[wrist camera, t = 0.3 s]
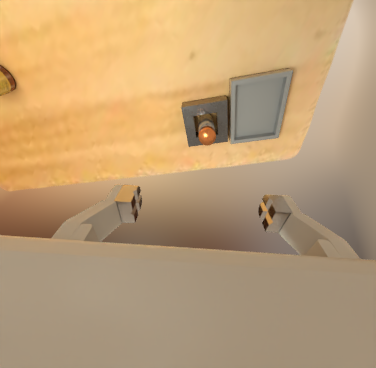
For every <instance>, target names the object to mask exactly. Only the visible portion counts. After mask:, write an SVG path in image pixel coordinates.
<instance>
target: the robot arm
mask: <svg viewBox="0 0 376 368" xmlns="http://www.w3.org/2000/svg"><path fill="white" fill-rule="evenodd" d="M140 191H141V190H140V187H139V186H132V185H121V184H116V185H114V187H113V188H112V190H111V191H110V193H109V195H108V196H107V198H106V200H105V201H101V202H99V203H97V204H95V205H94V206H92V207H90V208H88V209H86V210H84V211H83V212H81V213H79V214H77V215H75V216H74V217H72V218H70V219H68V220H67V221H65V222H64V223H63V224H62V225H61V227H60V228H59V229H58V231H57V232H56V233H55V234H54V235H53V237H52V238H51V239H48V238H33V237H18V236H3V235H2V236H1V235H0V368H376V260H363V259H360V258H359V257H358V256H357V254H356V253H355V252H354V250H353V249H352V248H351V247H350V246H349V244H348V243H347V242H346V241H345V240H344V239H342V238H341V237H339V236H338V235H336V234H334V233H333V232H332V231H330V230H328V229H327V228H325V227H324V226H322V225H321V224H319V223H318V222H316V221H314V220H313V219H311V218H310V217H308V216H307V215H305V214H302V213H301V211H300V210H299V208H298V207H297V205H296V204H295V203H294V201H293V200H292V198H291V197H290V196H286V195H279V196H278V195H264V196H263V198H262V200H263V202H262V203H261V204H260V205H259V210H258V213H259V216H260V218H261V219H262V220H263V222H262V224H263V227H264V229H265V232H275V233H279V234H280V235H281V236H282V237H283V238H284V239H285V240H286V241H287V242H288V243H289V244H290V245H291V246H292V247H293V248H294V249H295V250H296V251H297V252H298V253H299V254H300V255H289V254H288V255H287V254H274V253H258V252H244V251H229V250H214V249H199V248H184V247H169V246H154V245H138V244H124V243H123V244H122V243H108V242H101V241H102V240H103V239H104V238H105V237H107V236H108V235H109V234H110V233H111V232H112V231H113V230H115V229H116V228H117V227H118V226H119V225H120V224H122V222H125V223H126V222H127V223H135V222H136V220H137V217H138V211H139V210H140V209H141V205H142V197H141V195H140Z"/></svg>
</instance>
